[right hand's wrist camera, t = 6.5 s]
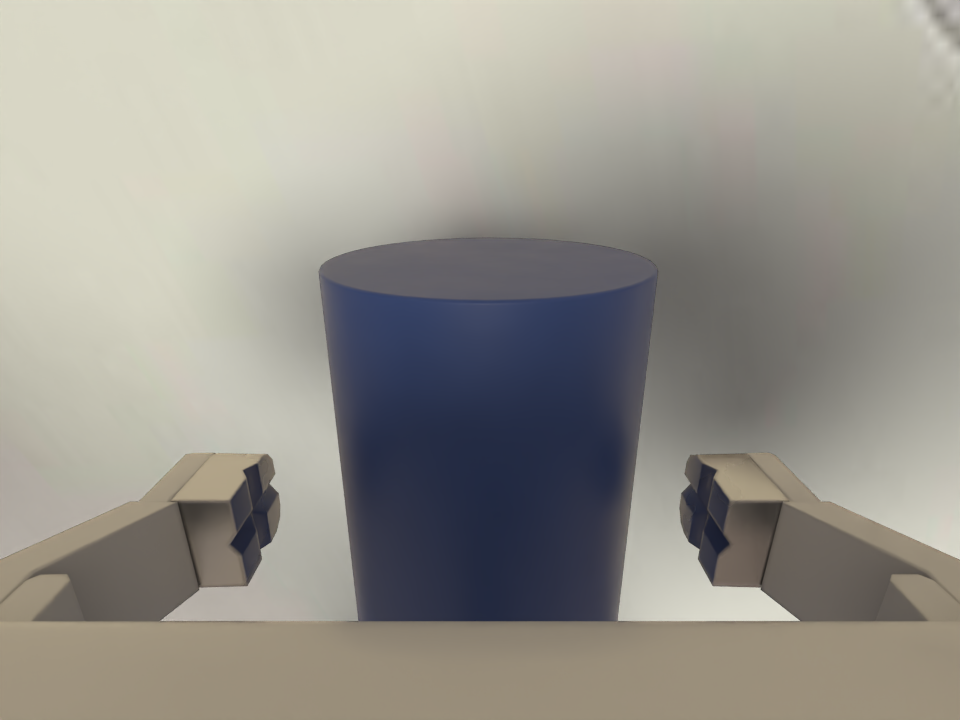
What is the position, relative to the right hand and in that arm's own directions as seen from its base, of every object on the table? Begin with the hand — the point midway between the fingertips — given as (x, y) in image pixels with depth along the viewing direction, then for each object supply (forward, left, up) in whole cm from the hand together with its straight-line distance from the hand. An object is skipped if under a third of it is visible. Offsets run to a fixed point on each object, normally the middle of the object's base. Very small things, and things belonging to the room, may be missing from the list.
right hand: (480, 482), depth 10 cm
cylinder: (0, +9, -4) cm, 10 cm away
